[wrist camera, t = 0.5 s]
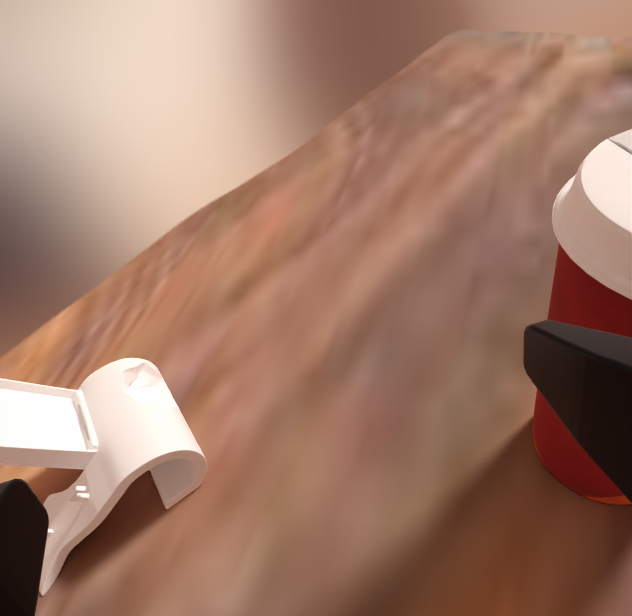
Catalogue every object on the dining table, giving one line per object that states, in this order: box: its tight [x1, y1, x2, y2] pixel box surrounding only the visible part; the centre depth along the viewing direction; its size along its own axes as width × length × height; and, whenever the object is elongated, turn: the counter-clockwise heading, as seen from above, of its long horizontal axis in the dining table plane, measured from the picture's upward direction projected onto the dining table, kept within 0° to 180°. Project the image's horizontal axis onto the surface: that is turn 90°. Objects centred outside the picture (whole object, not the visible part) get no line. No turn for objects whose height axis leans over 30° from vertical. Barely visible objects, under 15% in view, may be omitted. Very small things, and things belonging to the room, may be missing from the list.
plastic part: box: [0, 358, 208, 596], centre depth 21 cm, size 8×10×12 cm
